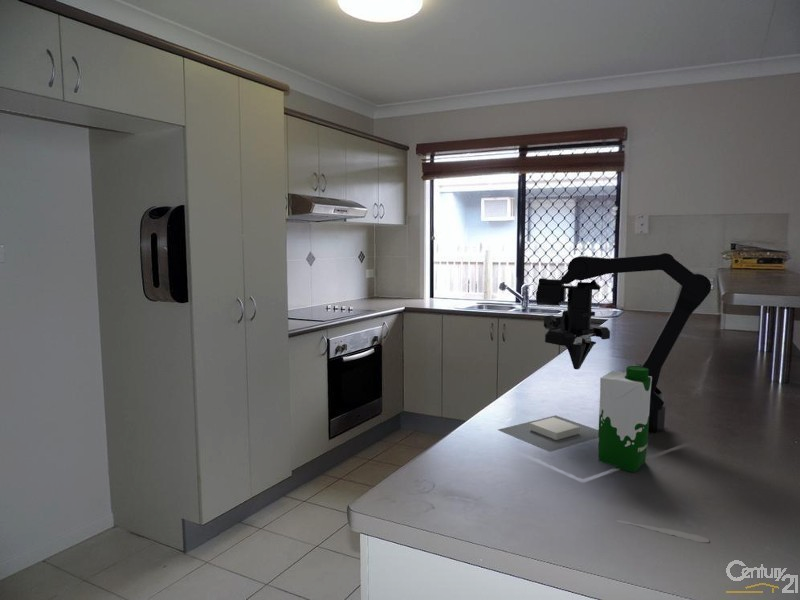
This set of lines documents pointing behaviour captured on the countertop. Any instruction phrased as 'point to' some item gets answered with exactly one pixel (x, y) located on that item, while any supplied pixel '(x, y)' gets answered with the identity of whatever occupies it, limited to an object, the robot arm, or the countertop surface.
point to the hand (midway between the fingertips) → (576, 369)
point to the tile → (555, 428)
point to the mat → (545, 442)
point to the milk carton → (624, 418)
